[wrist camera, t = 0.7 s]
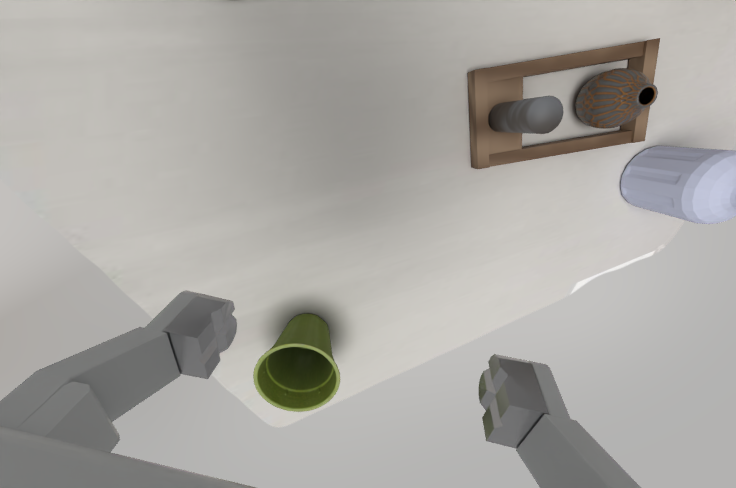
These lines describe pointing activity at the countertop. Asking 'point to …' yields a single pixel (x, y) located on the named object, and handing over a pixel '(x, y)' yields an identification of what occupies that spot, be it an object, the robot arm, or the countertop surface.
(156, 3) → the countertop surface
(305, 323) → the plant pot
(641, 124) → the strip frame
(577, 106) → the vase
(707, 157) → the soap bottle
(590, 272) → the countertop surface
